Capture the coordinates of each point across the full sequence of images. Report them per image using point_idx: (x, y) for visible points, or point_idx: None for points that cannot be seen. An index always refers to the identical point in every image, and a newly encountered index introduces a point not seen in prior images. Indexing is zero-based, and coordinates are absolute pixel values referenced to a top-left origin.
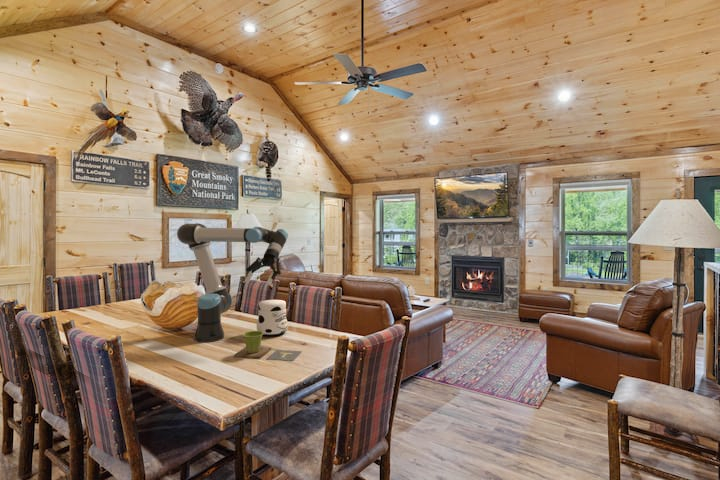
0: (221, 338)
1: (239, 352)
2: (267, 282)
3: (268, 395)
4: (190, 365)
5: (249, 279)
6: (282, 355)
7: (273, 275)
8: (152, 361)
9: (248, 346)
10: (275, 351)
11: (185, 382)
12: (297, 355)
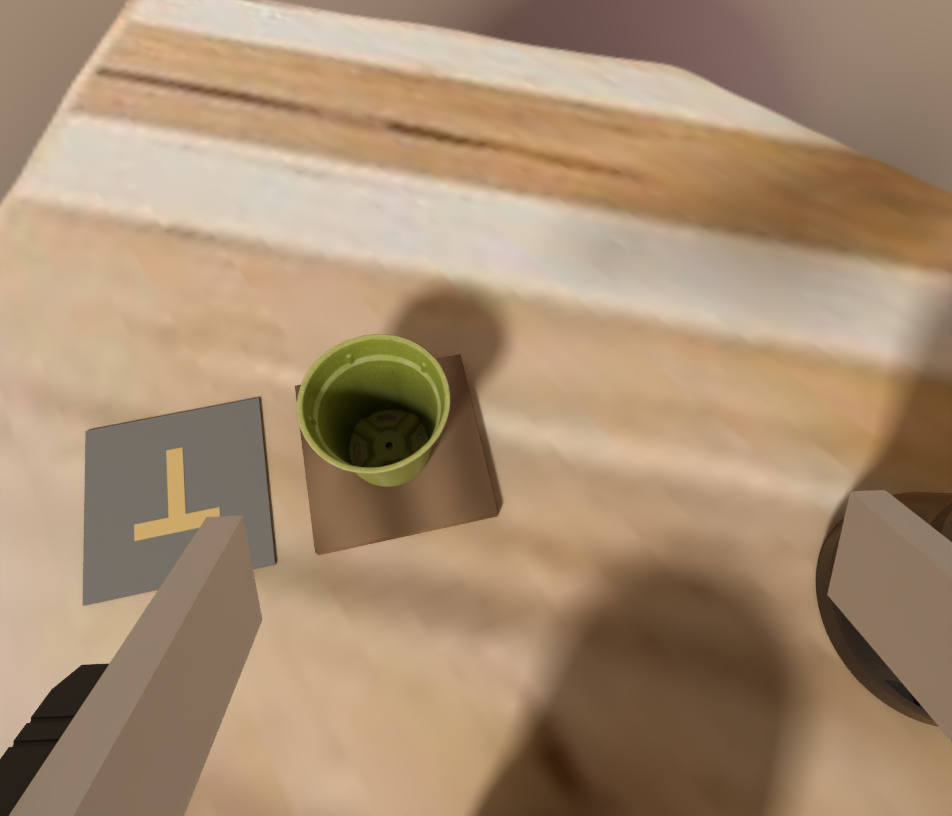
0: (824, 618)
1: (458, 399)
2: (226, 520)
3: (62, 103)
4: (577, 204)
5: (910, 664)
6: (186, 480)
7: (39, 754)
8: (787, 181)
9: (389, 386)
10: (266, 528)
11: (443, 86)
12: (88, 516)
